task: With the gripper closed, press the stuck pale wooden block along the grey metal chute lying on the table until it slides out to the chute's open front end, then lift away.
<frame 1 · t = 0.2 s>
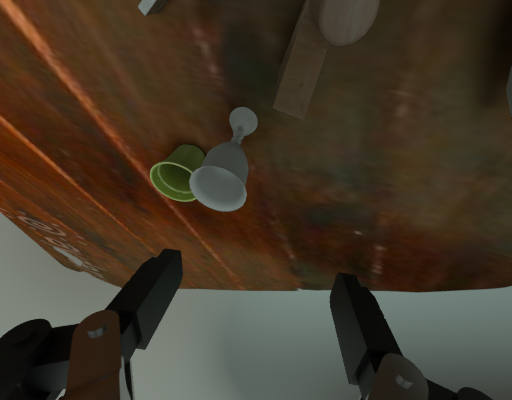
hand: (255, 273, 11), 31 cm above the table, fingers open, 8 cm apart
plant pot: (192, 155, 45), on the table
chalice: (243, 121, 38), on the table
wooden block: (308, 29, 28), on the table
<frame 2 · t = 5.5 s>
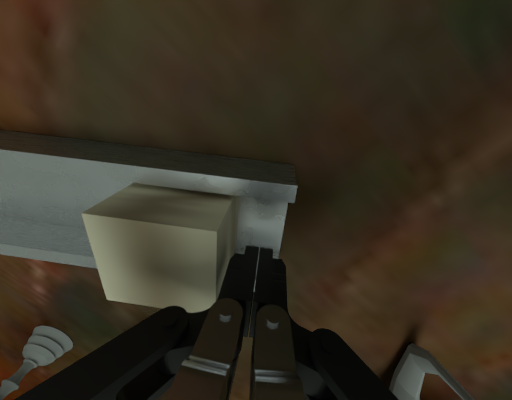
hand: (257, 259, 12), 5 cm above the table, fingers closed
block: (180, 234, 13), point 4 cm above the table, slide at 1.4 cm, touching gripper
chute: (120, 193, 17), on the table
chalice: (54, 337, 27), on the table
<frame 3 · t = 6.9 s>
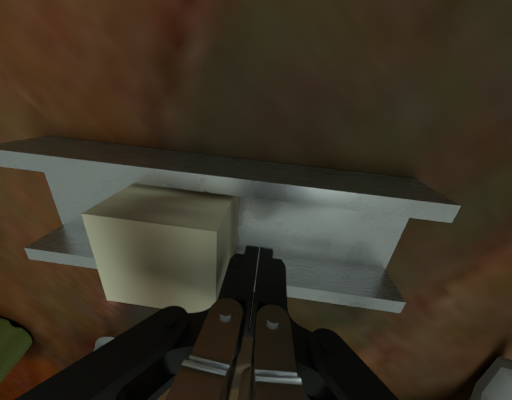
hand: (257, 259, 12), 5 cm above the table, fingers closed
plant pot: (12, 330, 28), on the table
block: (180, 234, 13), point 4 cm above the table, slide at 9.6 cm, touching gripper
chute: (222, 207, 17), on the table
wooden block: (236, 342, 24), on the table
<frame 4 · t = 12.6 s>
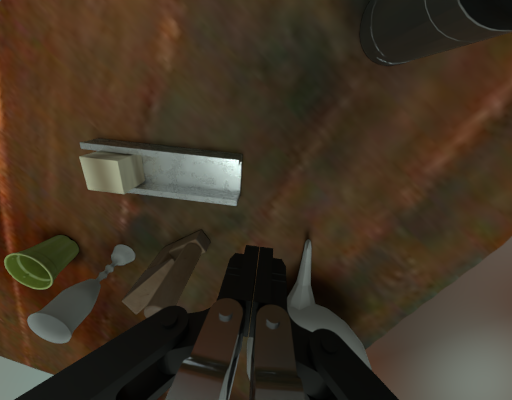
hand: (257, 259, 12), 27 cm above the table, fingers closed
plant pot: (67, 245, 51), on the table
block: (115, 170, 36), point 4 cm above the table, slide at 15.7 cm
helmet: (286, 291, 50), on the table
chute: (171, 168, 39), on the table
chalice: (125, 253, 50), on the table
wooden block: (187, 243, 47), on the table
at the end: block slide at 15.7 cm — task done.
